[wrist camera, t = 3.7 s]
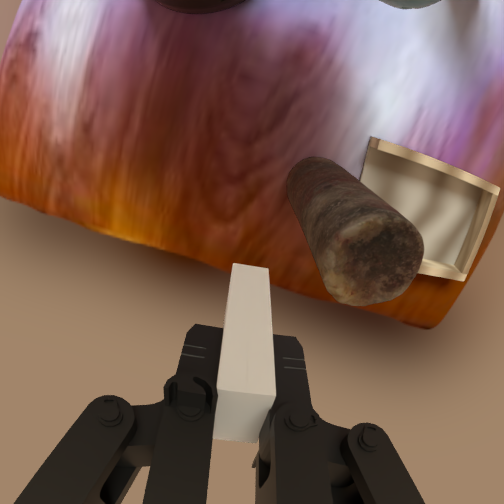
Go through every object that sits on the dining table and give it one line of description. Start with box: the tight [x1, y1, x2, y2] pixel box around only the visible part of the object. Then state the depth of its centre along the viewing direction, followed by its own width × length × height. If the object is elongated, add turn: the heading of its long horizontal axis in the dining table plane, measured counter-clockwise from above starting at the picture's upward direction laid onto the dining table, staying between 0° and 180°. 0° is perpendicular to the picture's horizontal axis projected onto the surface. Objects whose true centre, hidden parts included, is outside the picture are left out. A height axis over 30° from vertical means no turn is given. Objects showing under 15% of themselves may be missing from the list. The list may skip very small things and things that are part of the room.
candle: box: [287, 157, 424, 306], centre depth 27 cm, size 8×7×20 cm
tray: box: [359, 137, 500, 281], centre depth 35 cm, size 21×15×3 cm
